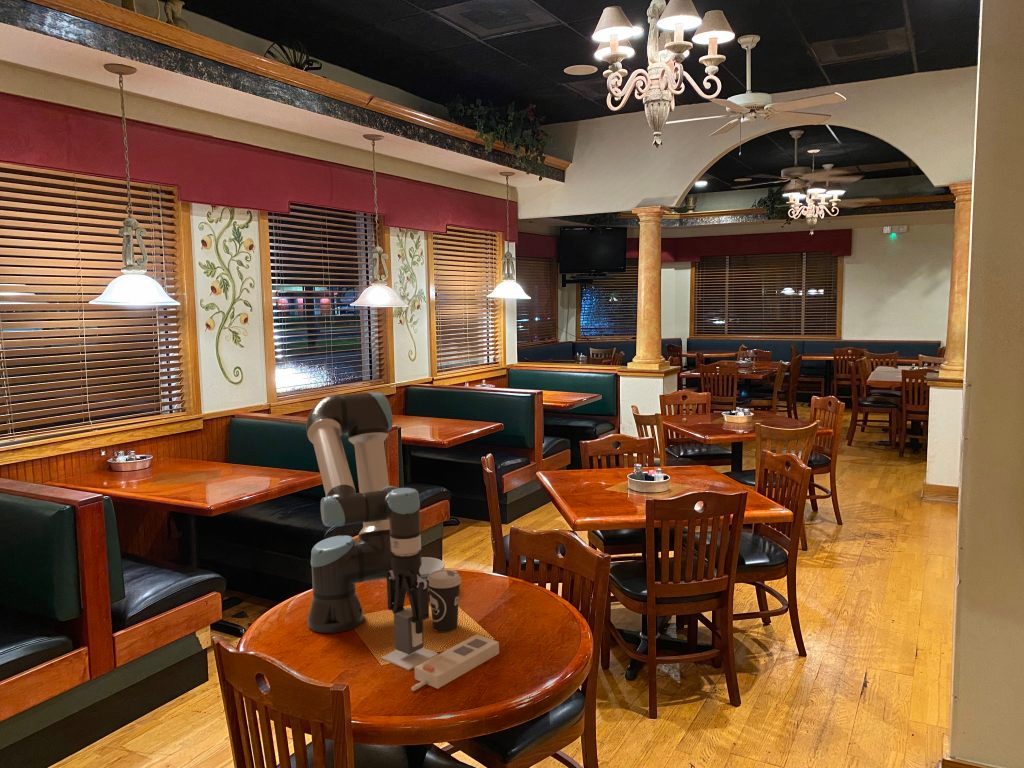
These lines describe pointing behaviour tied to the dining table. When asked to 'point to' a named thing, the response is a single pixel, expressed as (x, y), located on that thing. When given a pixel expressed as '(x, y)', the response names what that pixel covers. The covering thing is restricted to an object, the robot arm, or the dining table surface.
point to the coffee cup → (444, 599)
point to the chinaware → (429, 567)
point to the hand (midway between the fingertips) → (409, 641)
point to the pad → (409, 658)
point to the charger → (404, 632)
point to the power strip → (455, 661)
